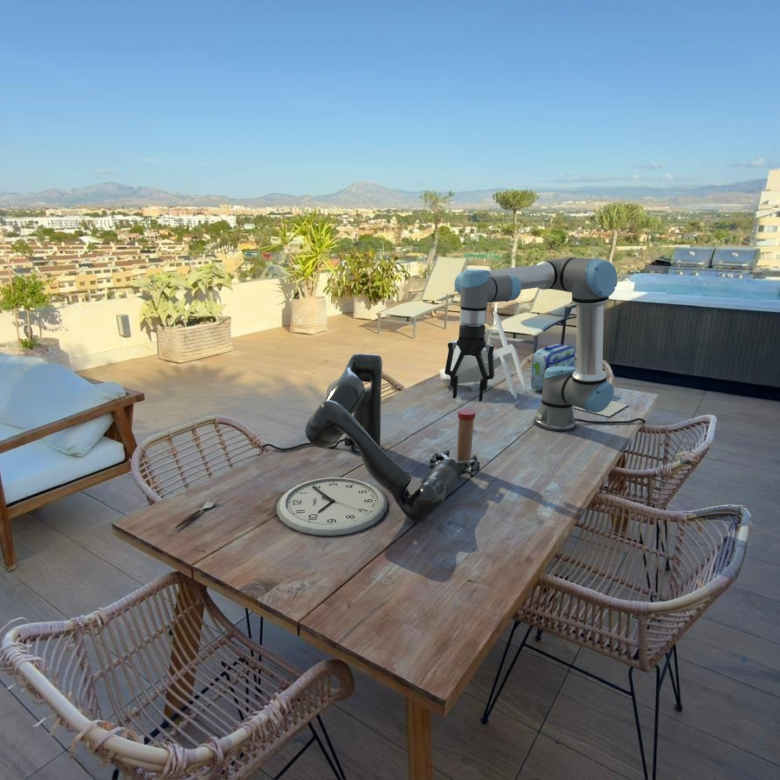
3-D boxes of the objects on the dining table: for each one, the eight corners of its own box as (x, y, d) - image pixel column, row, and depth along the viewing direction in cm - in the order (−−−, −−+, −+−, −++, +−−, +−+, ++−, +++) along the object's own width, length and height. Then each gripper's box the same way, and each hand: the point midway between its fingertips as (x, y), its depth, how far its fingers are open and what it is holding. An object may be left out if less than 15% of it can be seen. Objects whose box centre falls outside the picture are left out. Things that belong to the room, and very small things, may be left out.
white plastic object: (461, 429, 252) (437, 405, 227) (444, 352, 274) (420, 323, 250) (535, 404, 240) (518, 377, 215) (510, 326, 262) (492, 293, 237)
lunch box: (547, 396, 238) (552, 351, 232) (526, 391, 246) (531, 347, 239) (574, 385, 256) (579, 343, 250) (554, 380, 263) (559, 340, 257)
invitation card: (608, 416, 214) (573, 407, 224) (608, 416, 214) (573, 408, 224) (628, 404, 229) (594, 396, 238) (628, 405, 229) (594, 397, 238)
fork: (171, 528, 130) (170, 521, 130) (212, 499, 145) (211, 492, 144) (179, 530, 129) (178, 523, 129) (220, 500, 144) (219, 494, 143)
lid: (454, 416, 161) (454, 410, 161) (467, 413, 164) (467, 408, 164) (465, 421, 157) (465, 415, 157) (478, 418, 160) (478, 412, 159)
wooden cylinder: (453, 467, 166) (456, 412, 161) (463, 464, 169) (467, 409, 163) (462, 473, 163) (466, 416, 157) (473, 469, 165) (477, 414, 160)
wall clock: (392, 527, 129) (268, 531, 127) (391, 533, 130) (269, 537, 127) (383, 473, 158) (282, 475, 155) (383, 478, 158) (282, 480, 156)
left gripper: (420, 483, 151) (439, 461, 165) (467, 494, 145) (483, 471, 159) (421, 459, 149) (440, 439, 163) (469, 470, 143) (485, 448, 157)
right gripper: (509, 324, 152) (502, 398, 159) (441, 319, 158) (438, 391, 165) (505, 328, 146) (499, 406, 152) (435, 323, 152) (432, 398, 159)
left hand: (461, 455), depth 161 cm, fingers open, 8 cm apart
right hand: (467, 398), depth 159 cm, fingers open, 7 cm apart
